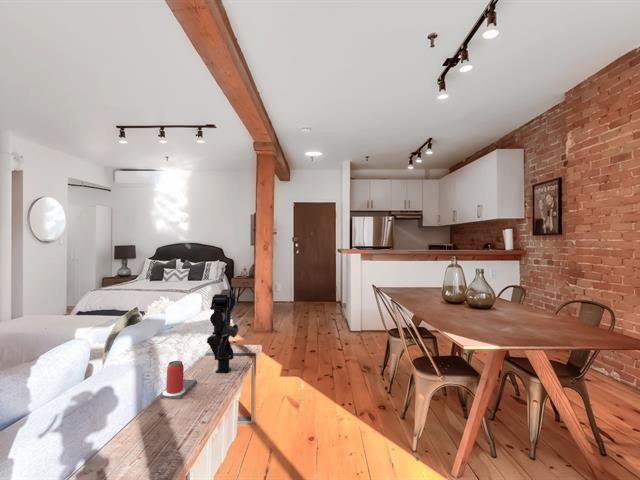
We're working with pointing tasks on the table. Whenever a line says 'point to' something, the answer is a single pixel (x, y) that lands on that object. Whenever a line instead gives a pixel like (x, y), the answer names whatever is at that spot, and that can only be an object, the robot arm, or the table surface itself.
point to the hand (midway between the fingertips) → (219, 353)
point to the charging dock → (186, 387)
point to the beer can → (175, 377)
